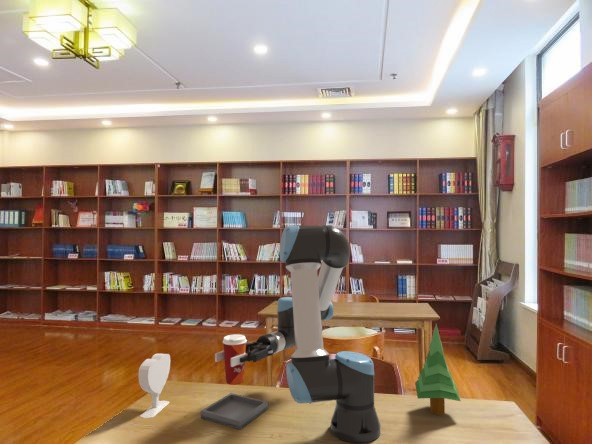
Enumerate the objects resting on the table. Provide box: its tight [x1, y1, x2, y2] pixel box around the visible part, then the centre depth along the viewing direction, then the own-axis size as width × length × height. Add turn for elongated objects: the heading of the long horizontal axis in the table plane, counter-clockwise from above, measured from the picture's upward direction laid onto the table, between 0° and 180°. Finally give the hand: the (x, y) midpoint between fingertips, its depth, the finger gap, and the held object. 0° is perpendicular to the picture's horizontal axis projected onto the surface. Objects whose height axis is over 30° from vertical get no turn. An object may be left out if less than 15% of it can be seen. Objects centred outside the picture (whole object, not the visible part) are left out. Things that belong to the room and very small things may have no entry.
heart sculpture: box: [137, 353, 171, 419], centre depth 141 cm, size 16×5×18 cm, turn 170°
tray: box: [200, 392, 269, 430], centre depth 137 cm, size 16×16×2 cm
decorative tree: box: [414, 323, 462, 416], centre depth 137 cm, size 14×16×30 cm
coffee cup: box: [222, 333, 248, 386], centre depth 137 cm, size 8×8×15 cm
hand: (223, 360), depth 133 cm, fingers closed on coffee cup, 7 cm apart
